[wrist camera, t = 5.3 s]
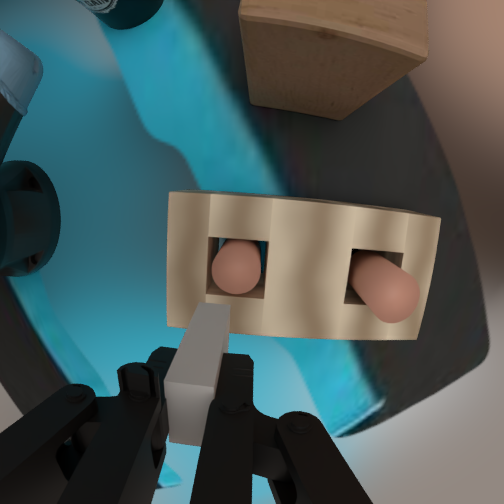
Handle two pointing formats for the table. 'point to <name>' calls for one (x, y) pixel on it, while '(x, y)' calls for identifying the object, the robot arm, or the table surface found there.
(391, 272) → the peg
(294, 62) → the wooden block
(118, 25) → the water bottle
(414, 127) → the table surface
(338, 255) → the socket board
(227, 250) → the peg
